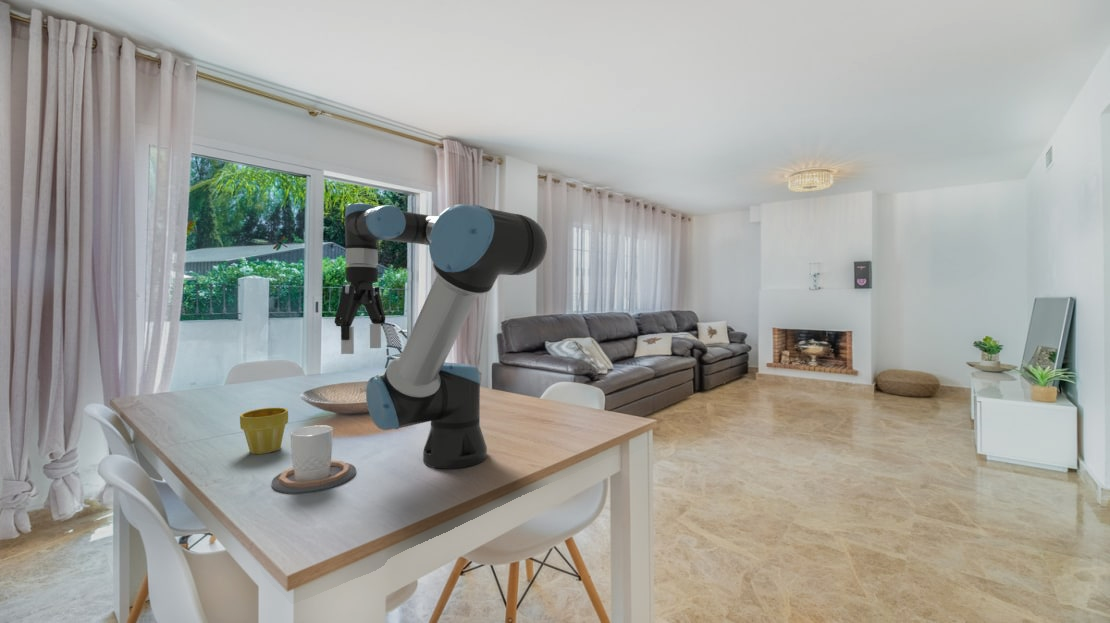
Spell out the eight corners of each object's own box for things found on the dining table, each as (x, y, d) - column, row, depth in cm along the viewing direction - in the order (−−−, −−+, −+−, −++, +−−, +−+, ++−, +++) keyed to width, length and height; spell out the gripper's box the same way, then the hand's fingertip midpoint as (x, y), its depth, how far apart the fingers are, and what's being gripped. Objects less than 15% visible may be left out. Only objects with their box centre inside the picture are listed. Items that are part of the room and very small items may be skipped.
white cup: (315, 485, 92) (314, 436, 91) (281, 482, 93) (281, 434, 93) (341, 471, 99) (340, 426, 99) (310, 468, 101) (309, 424, 101)
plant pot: (235, 459, 109) (235, 418, 108) (245, 446, 118) (245, 409, 118) (285, 453, 113) (285, 414, 113) (291, 441, 122) (290, 405, 122)
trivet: (370, 466, 104) (370, 460, 104) (324, 496, 88) (324, 488, 88) (308, 462, 107) (308, 456, 107) (252, 490, 91) (252, 483, 91)
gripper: (372, 270, 127) (372, 346, 127) (317, 262, 102) (317, 356, 102) (397, 270, 126) (398, 346, 126) (348, 262, 101) (349, 356, 102)
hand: (362, 351), depth 114 cm, fingers open, 13 cm apart
